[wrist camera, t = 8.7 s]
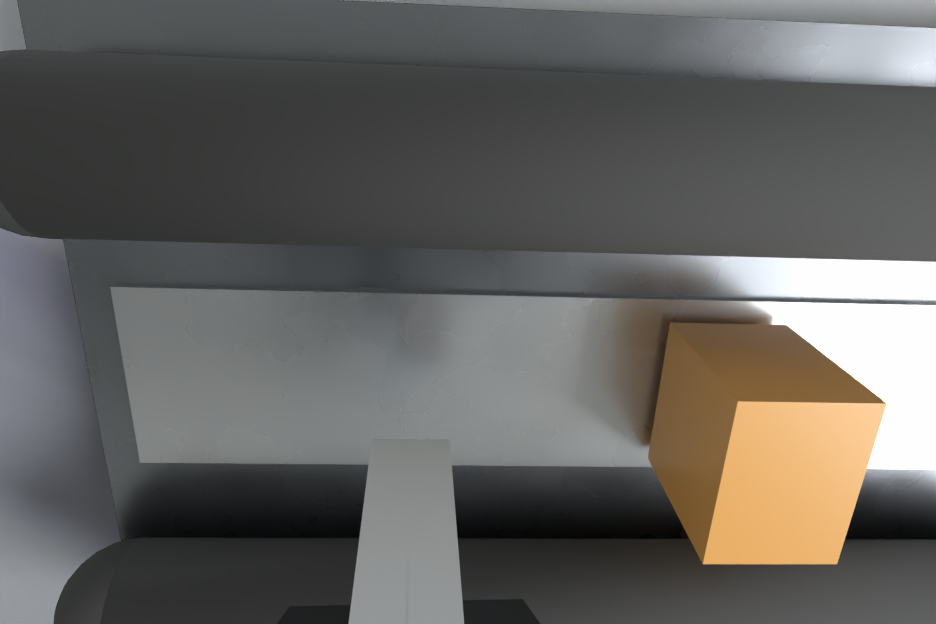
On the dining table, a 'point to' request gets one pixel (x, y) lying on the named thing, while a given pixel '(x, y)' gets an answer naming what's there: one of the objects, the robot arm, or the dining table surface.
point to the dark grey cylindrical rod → (506, 582)
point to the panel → (465, 305)
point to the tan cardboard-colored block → (760, 443)
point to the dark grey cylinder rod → (462, 158)
